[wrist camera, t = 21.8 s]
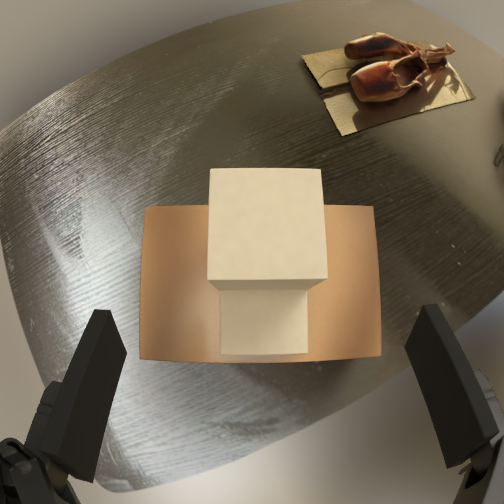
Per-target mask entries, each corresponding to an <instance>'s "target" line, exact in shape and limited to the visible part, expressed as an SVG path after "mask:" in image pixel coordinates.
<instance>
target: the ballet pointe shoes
mask: <svg viewBox="0 0 504 504" xmlns="http://www.w3.org/2000/svg"><path fill="white" fill-rule="evenodd" d="M453 52H455V50H454V49H453V48H452V47H451V46H450V44H448V43H446V47H445V48H443V47H442V48H441V47H440V48H436V47H434V45H433V44H432V45H429V44H428V43H427V42H425V41H424V42H422V41H421V42H411V43H410V42H407V43H405V42H404V41H401V40H398V39H396V38H393V37H390V36H389V35H386V34H382V33H376V32H374V33H373V34H372V35H364V36H362V38H359V39H356V40H354V41H350V42H348V43H347V44H346V45H345V47H344V48H341V49H337V50H336V49H335V50H330V51H329V50H328V51H325V52H321V53H320V52H319V53H318V52H317V53H314V54H308V55H303V56H302V58H303V59H304V60H305V63H307V64H306V65H307V66H308V67H309V69H310V70H312V71H311V73H312V74H313V75H314V77H315V78H316V79H317V82H318V83H319V85H321V86H322V88H323V89H322V90H320V91H319V94H320V97H321V99H324V102H326V106H327V109H328V111H329V113H330V115H331V117H332V118H333V120H334V122H335V124H336V126H337V128H338V130H339V131H340V133H341V135H342V136H344V135H347V134H350V133H353V132H356V131H357V132H358V131H360V130H363V129H365V128H368V127H371V126H375V125H378V124H382V123H384V122H386V121H387V122H388V121H392V119H393V120H394V119H398V118H402V117H403V116H404V117H405V116H408V115H412V114H414V113H419V112H423V111H425V110H427V109H428V110H430V109H433V108H436V107H441V106H444V105H449V104H453V103H456V102H457V103H458V102H460V101H465V100H467V99H468V100H469V99H472V98H476V97H475V95H474V94H473V93H472V92H471V90H470V89H469V87H468V86H467V85H466V83H465V82H464V81H463V80H462V79H461V77H460V76H459V75H458V73H457V72H456V71H455V70H454V68H453V67H452V66H451V65H450V63H449V62H448V61H447V59H446V58H445V56H447V55H449V54H452V53H453Z"/></svg>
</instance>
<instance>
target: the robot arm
mask: <svg viewBox="0 0 504 504" xmlns="http://www.w3.org/2000/svg"><path fill="white" fill-rule="evenodd" d="M404 348H405V350H406V352H407V355H408V357H409V360H410V362H411V365H412V367H413V370H414V372H415V375H416V378H417V380H418V383H419V386H420V388H421V391H422V394H423V396H424V399H425V402H426V405H427V407H428V410H429V413H430V416H431V419H432V422H433V425H434V428H435V431H436V434H437V437H438V440H439V444H440V447H441V450H442V453H443V456H444V460H445V463H446V467H447V469H448V468H451V467H454V466H457V465H460V464H462V463H463V462H465V461H466V460H467V459H468V458H470V459H471V463H469V464H468V465H467V466H465V467H464V468H463V469H461V471H460V472H459V474H460V475H461V474H462V473H464V472H465V471H466V470H467V471H466V473H465V474H464V478H463V481H462V484H461V486H460V488H459V491H458V493H457V496H456V498H455V500H454V502H453V504H504V412H503V409H502V407H501V405H500V403H499V401H498V399H497V398H496V394H495V392H494V390H492V386H491V384H490V381H489V379H488V378H487V377H486V375H485V374H484V373H483V372H482V371H481V370H480V369H479V370H474V371H473V370H472V368H471V366H470V364H469V362H468V360H467V358H466V356H465V354H464V352H463V350H462V348H461V346H460V344H459V342H458V340H457V339H456V337H455V335H454V333H453V331H452V329H451V328H450V326H449V324H448V322H447V320H446V319H445V317H444V315H443V313H442V312H441V310H440V308H439V307H438V305H437V304H428V305H423V306H422V308H421V311H420V313H419V315H418V318H417V320H416V322H415V325H414V327H413V329H412V332H411V334H410V336H409V338H408V340H407V342H406V345H405V347H404ZM126 355H127V351H126V349H125V347H124V344H123V342H122V339H121V337H120V334H119V332H118V329H117V327H116V324H115V322H114V319H113V316H112V314H111V311H110V310H98V309H94V311H93V313H92V315H91V317H90V320H89V322H88V324H87V326H86V328H85V330H84V333H83V335H82V337H81V339H80V342H79V344H78V346H77V348H76V351H75V353H74V355H73V358H72V360H71V362H70V365H69V367H68V370H67V372H66V375H65V377H64V379H63V382H62V383H61V382H56V381H52V382H51V383H50V385H49V386H48V387H47V388H46V389H45V390H44V393H43V395H42V398H41V401H40V404H39V406H38V408H37V413H35V416H34V419H33V421H32V424H31V427H30V430H29V433H28V435H27V439H26V441H25V444H24V445H23V444H22V443H20V442H19V441H18V440H17V439H14V438H7V439H4V440H3V441H1V442H0V504H81V503H80V502H79V500H78V498H77V496H76V494H75V492H74V490H73V488H72V486H71V484H70V482H69V481H68V480H67V478H68V474H70V475H71V476H73V477H74V478H76V479H79V480H83V481H87V482H90V483H93V480H94V475H95V471H96V466H97V462H98V457H99V453H100V449H101V445H102V440H103V436H104V432H105V428H106V425H107V421H108V417H109V413H110V409H111V406H112V402H113V399H114V395H115V392H116V388H117V385H118V381H119V378H120V374H121V371H122V368H123V364H124V361H125V358H126Z"/></svg>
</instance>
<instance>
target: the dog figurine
mask: <svg viewBox="0 0 504 504" xmlns="http://www.w3.org/2000/svg"><path fill="white" fill-rule="evenodd" d="M503 155H504V144H502V145H501V147H500V150H499V152H498V154H497V157H496V159H495V161H494V163H495V165H497V166H498V165H499V164H500V161H501V159H502V157H503Z"/></svg>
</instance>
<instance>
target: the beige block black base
mask: <svg viewBox="0 0 504 504" xmlns="http://www.w3.org/2000/svg"><path fill="white" fill-rule="evenodd" d="M326 279H328V268H327V248H326V231H325V217H324V203H323V191H322V180H321V170H320V169H296V168H225V169H210V184H209V211H208V246H207V280H208V281H209V282H210V283H211V284H212V285H213V286H214V287H215V288H217V289H218V290H219V291H220V355H286V354H307V353H308V309H307V290H308V289H310V288H312V287H314V286H315V285H317V284H319V283H321V282H323V281H325V280H326Z"/></svg>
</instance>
